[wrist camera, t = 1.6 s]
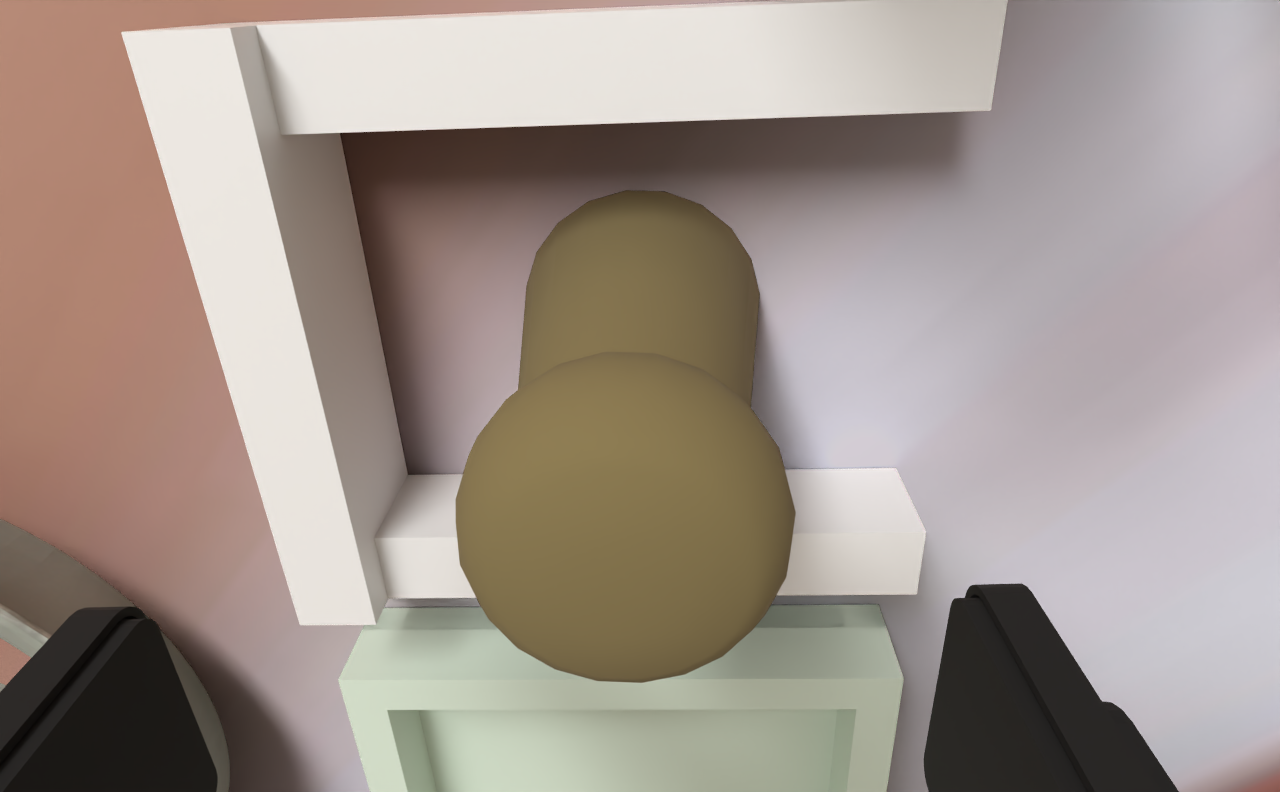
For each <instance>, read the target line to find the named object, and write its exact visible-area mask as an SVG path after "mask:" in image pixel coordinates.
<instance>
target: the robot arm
mask: <svg viewBox="0 0 1280 792" xmlns="http://www.w3.org/2000/svg"><path fill="white" fill-rule="evenodd" d="M924 771H925V778H926V783H927V787H928V790H929V792H1179V791H1178V790H1177V788H1176V787H1175V785H1174V784H1173V782H1172V781H1171V779H1170V778H1169V776H1168V775H1167V773H1166V772H1165V770H1164V769H1163V767H1162V766H1161V764H1160V763H1159V761H1158V760H1157V758H1156V757H1155V755H1154V754H1153V752H1152V751H1151V749H1150V748H1149V746H1148V745H1147V743H1146V742H1145V740H1144V739H1143V737H1142V736H1141V734H1140V733H1139V731H1138V730H1137V728H1136V727H1135V725H1134V724H1133V722H1132V721H1131V720H1130V719H1129V718H1128V716H1127V715H1126V714H1125V713H1124V711H1123V710H1122V709H1120V708H1119V707H1117V706H1116V705H1114V704H1113V703H1111V702H1102V701H1101V699H1100V698H1099V696H1098V695H1097V693H1096V692H1095V690H1094V689H1093V687H1092V685H1091V684H1090V682H1089V681H1088V679H1087V678H1086V676H1085V675H1084V673H1083V671H1082V670H1081V668H1080V667H1079V665H1078V664H1077V662H1076V661H1075V659H1074V657H1073V656H1072V654H1071V653H1070V651H1069V650H1068V648H1067V646H1066V645H1065V643H1064V642H1063V640H1062V639H1061V637H1060V636H1059V634H1058V632H1057V631H1056V629H1055V628H1054V626H1053V625H1052V623H1051V622H1050V620H1049V618H1048V617H1047V615H1046V614H1045V612H1044V611H1043V609H1042V608H1041V606H1040V604H1039V603H1038V601H1037V600H1036V598H1035V597H1034V595H1033V594H1032V592H1031V591H1030V590H1029V589H1028V587H1027V586H1025V585H1023V584H988V585H972V586H970V587H969V589H968V590H967V593H966V596H965V598H956V599H954V600H953V601H952V604H951V608H950V613H949V619H948V624H947V630H946V636H945V641H944V647H943V652H942V658H941V664H940V669H939V675H938V680H937V686H936V692H935V697H934V703H933V708H932V714H931V720H930V725H929V731H928V736H927V742H926V748H925V753H924ZM217 784H218V775H217V771H216V768H215V765H214V763H213V760H212V758H211V755H210V753H209V750H208V748H207V745H206V743H205V740H204V738H203V735H202V733H201V730H200V728H199V725H198V723H197V721H196V718H195V716H194V713H193V711H192V708H191V706H190V703H189V701H188V698H187V696H186V693H185V691H184V688H183V686H182V683H181V681H180V679H179V676H178V674H177V671H176V669H175V666H174V664H173V661H172V659H171V656H170V654H169V651H168V649H167V646H166V644H165V641H164V639H163V636H162V634H161V632H160V629H159V627H158V625H157V624H156V622H155V621H153V620H152V619H147V618H146V616H145V615H144V613H143V611H141V610H140V609H138V608H137V607H131V606H125V607H86V608H82V609H80V610H77V611H76V612H74V613H73V614H72V615H71V616H70V617H68V619H67V620H66V621H65V622H64V623H63V624H62V625H61V626H60V627H59V628H58V629H57V631H56V632H55V633H54V634H53V635H52V636H51V637H50V638H49V639H48V640H47V641H46V643H45V644H44V645H43V646H42V647H41V648H40V649H39V650H38V651H37V652H36V653H35V655H34V656H33V657H32V658H31V659H30V660H29V661H28V662H27V663H26V664H25V665H24V667H23V668H22V669H21V670H20V671H19V672H18V673H17V674H16V675H15V676H14V677H13V679H12V680H11V681H10V682H9V683H8V684H7V685H6V686H5V687H4V688H3V689H2V691H1V692H0V792H216V791H217Z"/></svg>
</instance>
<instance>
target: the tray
mask: <svg viewBox="0 0 1280 792" xmlns="http://www.w3.org/2000/svg"><path fill="white" fill-rule="evenodd" d="M338 681H339V685H340V688H341V692H342V695H343V699H344V702H345V706H346V709H347V713H348V716H349V720H350V723H351V727H352V730H353V734H354V737H355V741H356V744H357V748H358V751H359V755H360V758H361V762H362V765H363V769H364V772H365V776H366V779H367V783H368V786H369V790H370V792H886V791H887V785H888V778H889V772H890V765H891V759H892V752H893V746H894V739H895V733H896V726H897V720H898V713H899V707H900V700H901V694H902V687H903V681H904V678H903V675H902V672H901V669H900V666H899V663H898V660H897V657H896V654H895V651H894V648H893V645H892V642H891V639H890V636H889V633H888V631H887V628H886V625H885V622H884V619H883V616H882V613H881V610H880V607H879V604H869V605H771V606H770V607H769V609H768V611H767V613H766V615H765V616H764V617H763V618H762V619H761V621H760V622H759V623H758V624H757V625H756V626H755V628H754V629H753V630H752V631H751V632H750V633H749V634H747V635H746V636H745V637H744V638H743V639H742V640H741V641H740V642H738V643H737V644H736V645H735V646H734V647H733V648H732V649H731V650H730V651H728V652H727V653H726V654H725V655H724V656H723V657H721V658H719V659H716V660H714V661H712V662H710V663H708V664H706V665H704V666H702V667H700V668H697V669H695V670H693V671H691V672H689V673H687V674H685V675H680V676H675V677H670V678H665V679H659V680H654V681H649V682H644V683H631V682H606V681H595V680H591V679H588V678H584V677H581V676H577V675H573V674H570V673H566V672H563V671H559V670H555V669H553V668H552V667H550V666H548V665H546V664H544V663H543V662H541V661H539V660H537V659H536V658H534V657H532V656H530V655H529V654H527V653H525V652H523V651H521V650H520V649H518V648H517V647H516V646H515V645H514V644H513V643H512V642H511V641H510V640H509V639H508V638H507V637H506V636H505V635H504V634H503V633H502V632H501V631H500V630H499V629H498V628H497V627H496V626H495V625H494V624H493V623H492V622H491V621H490V620H489V619H488V617H487V616H486V614H485V612H484V611H483V609H482V607H441V608H384V609H383V611H382V613H381V615H380V617H379V620H378V622H377V624H376V625H364V627H363V629H362V631H361V633H360V635H359V638H358V640H357V642H356V644H355V646H354V648H353V650H352V652H351V654H350V656H349V659H348V661H347V663H346V665H345V667H344V669H343V671H342V673H341V675H340V678H339V680H338Z"/></svg>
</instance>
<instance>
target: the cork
mask: <svg viewBox="0 0 1280 792" xmlns="http://www.w3.org/2000/svg"><path fill="white" fill-rule="evenodd" d="M759 295H760V293H759V289H758V285H757V281H756V277H755V273H754V268H753V264H752V260H751V258H750V256H749V255H748V253H747V252H746V250H745V249H744V247H743V246H742V244H741V243H740V241H739V239H738V238H737V236H736V235H735V233H734V232H733V230H732V229H731V228H730V227H729V226H728V225H726V224H725V223H724V222H723V221H721V220H720V219H719V218H718V217H716V216H715V215H714V214H713V213H711V212H710V211H709V210H707V209H706V208H705V207H704V206H702V205H701V204H698V203H695V202H692V201H690V200H687V199H684V198H681V197H679V196H676V195H673V194H670V193H668V192H662V191H630V190H626V191H622V192H619V193H615V194H612V195H609V196H605V197H602V198H598V199H595V200H592V201H589V202H587V203H586V204H584V205H583V206H581V207H580V208H579V209H577V210H576V211H574V212H573V213H571V214H570V215H569V216H567V217H566V218H564V219H563V220H561V221H560V222H559V223H558V224H557V225H556V226H555V228H554V229H553V231H552V232H551V233H550V235H549V236H548V237H547V239H546V240H545V242H544V243H543V244H542V246H541V247H540V248H539V250H538V251H537V253H536V256H535V260H534V263H533V266H532V270H531V273H530V276H529V280H528V283H527V287H526V300H525V312H524V324H523V336H522V348H521V361H520V373H519V385H518V391H516V392H515V393H514V394H513V395H511V396H510V397H509V398H508V399H506V401H505V402H504V403H503V404H502V406H501V407H500V408H499V410H498V411H497V412H496V413H495V415H494V416H493V417H492V419H491V420H490V421H489V422H488V424H487V425H486V426H485V428H484V429H483V430H482V431H481V433H480V434H479V435H478V437H477V439H476V441H475V443H474V445H473V447H472V449H471V452H470V454H469V456H468V459H467V462H466V466H465V469H464V473H463V476H462V479H461V483H460V486H459V489H458V493H457V496H456V531H457V541H458V551H459V561H460V566H461V568H462V570H463V572H464V574H465V576H466V578H467V580H468V582H469V584H470V586H471V588H472V590H473V592H474V594H475V596H476V598H477V600H478V602H479V604H480V606H481V607H482V609H483V611H484V612H485V614H486V616H487V617H488V619H489V620H490V621H491V622H492V623H493V624H494V625H495V626H496V627H497V628H498V629H499V630H500V631H501V632H502V633H503V634H504V635H505V636H506V637H507V638H508V639H509V640H510V641H511V642H512V643H513V644H514V645H515V646H516V647H517V648H518V649H520V650H521V651H523V652H525V653H527V654H529V655H530V656H532V657H534V658H536V659H537V660H539V661H541V662H543V663H544V664H546V665H548V666H550V667H552V668H553V669H555V670H559V671H563V672H566V673H570V674H573V675H577V676H581V677H584V678H588V679H591V680H595V681H606V682H631V683H644V682H649V681H654V680H659V679H665V678H670V677H675V676H680V675H685V674H687V673H689V672H691V671H693V670H695V669H697V668H700V667H702V666H704V665H706V664H708V663H710V662H712V661H714V660H716V659H719V658H721V657H723V656H724V655H725V654H726V653H727V652H728V651H730V650H731V649H732V648H733V647H734V646H735V645H736V644H737V643H738V642H740V641H741V640H742V639H743V638H744V637H745V636H746V635H747V634H749V633H750V632H751V631H752V630H753V629H754V628H755V626H756V625H757V624H758V623H759V622H760V621H761V619H762V618H763V617H764V616H765V615H766V613H767V611H768V609H769V607H770V606H771V604H772V602H773V600H774V598H775V597H776V595H777V593H778V591H779V590H780V588H781V586H782V584H783V582H784V581H785V579H786V576H787V570H788V564H789V558H790V551H791V544H792V537H793V529H794V522H795V515H796V511H795V507H794V503H793V500H792V496H791V492H790V488H789V484H788V480H787V476H786V472H785V468H784V465H783V461H782V457H781V454H780V450H779V447H778V446H777V444H776V443H775V441H774V440H773V439H772V437H771V436H770V434H769V433H768V431H767V430H766V429H765V427H764V426H763V424H762V423H761V422H760V420H759V419H758V417H757V416H756V414H755V413H754V412H753V410H752V409H751V397H752V384H753V371H754V359H755V346H756V333H757V321H758V308H759Z"/></svg>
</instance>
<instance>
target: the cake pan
mask: <svg viewBox="0 0 1280 792" xmlns="http://www.w3.org/2000/svg"><path fill="white" fill-rule="evenodd" d="M125 606H131V607H136V606H135V605H134V604H133V603H132V602H130V601H129V600H128V599H127V598H126V597H125V596H123V595H122V594H121V593H120V592H119V591H117V590H116V589H115V588H114V587H112V586H111V585H110V584H108V583H107V582H106V581H104V580H103V579H102V578H100V577H99V576H98V575H96V574H95V573H93V572H92V571H91V570H89V569H88V568H87V567H85V566H84V565H82V564H80V563H79V562H77V561H76V560H74V559H73V558H71V557H70V556H68V555H66V554H65V553H63V552H62V551H60V550H59V549H57V548H55V547H54V546H52V545H50V544H48V543H46V542H45V541H43V540H41V539H39V538H37V537H35V536H34V535H32V534H30V533H28V532H26V531H24V530H22V529H20V528H18V527H16V526H14V525H12V524H10V523H8V522H6V521H4V520H2V519H0V638H1V639H3V640H5V641H6V642H8V643H9V644H11V645H13V646H14V647H16V648H17V649H19V650H21V651H22V652H24V653H25V654H27V655H28V656H30V657H31V658H32V657H33V656H34V655H35V653H36V652H37V651H38V650H39V649H40V648H41V647H42V646H43V645H44V644H45V643H46V641H47V640H48V639H49V638H50V637H51V636H52V635H53V634H54V633H55V632H56V631H57V629H58V628H59V627H60V626H61V625H62V624H63V623H64V622H65V621H66V620H67V619H68V617H70V616H71V615H72V614H73V613H74V612H76V611H77V610H80V609H82V608H86V607H125ZM138 609H139V608H138ZM144 615H145V614H144ZM145 616H146V615H145ZM146 618H147V619H149V618H148V617H147V616H146ZM160 632H161V634H162V636H163V639H164V641H165V644H166V646H167V649H168V651H169V654H170V656H171V659H172V661H173V664H174V666H175V669H176V671H177V674H178V676H179V679H180V681H181V683H182V686H183V688H184V691H185V693H186V696H187V698H188V701H189V703H190V706H191V708H192V711H193V713H194V716H195V718H196V721H197V723H198V725H199V728H200V730H201V733H202V735H203V738H204V740H205V743H206V745H207V748H208V750H209V753H210V755H211V758H212V760H213V763H214V765H215V768H216V771H217V775H218V784H217V791H216V792H228V790H229V784H230V761H229V754H228V747H227V743H226V739H225V735H224V731H223V728H222V725H221V722H220V720H219V717H218V714H217V712H216V710H215V708H214V706H213V703H212V701H211V699H210V697H209V695H208V693H207V692H206V690H205V688H204V687H203V685H202V683H201V682H200V680H199V678H198V677H197V675H196V673H195V672H194V671H193V669H192V668H191V666H190V665H189V664H188V662H187V661H186V660H185V658H184V657H183V656H182V654H181V653H180V651H179V650H178V649H177V648H176V647H175V646H174V644H173V643H172V642H171V641H170V640H169V639H168V638H167V637H166V636H165V634H164V633H163V632H162V631H161V630H160ZM5 686H6V685H4V684H1V683H0V692H1V691H2V689H3V688H4V687H5Z"/></svg>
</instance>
